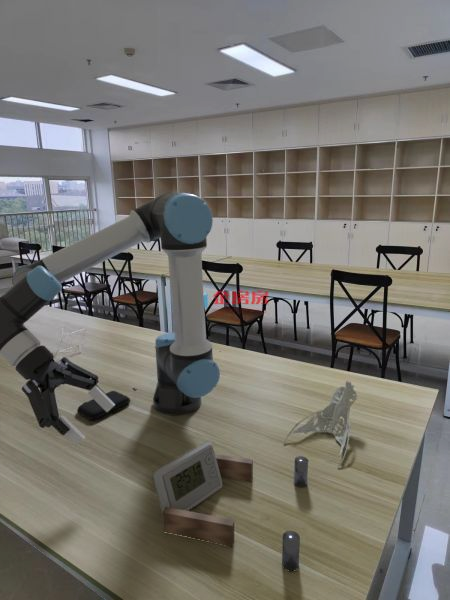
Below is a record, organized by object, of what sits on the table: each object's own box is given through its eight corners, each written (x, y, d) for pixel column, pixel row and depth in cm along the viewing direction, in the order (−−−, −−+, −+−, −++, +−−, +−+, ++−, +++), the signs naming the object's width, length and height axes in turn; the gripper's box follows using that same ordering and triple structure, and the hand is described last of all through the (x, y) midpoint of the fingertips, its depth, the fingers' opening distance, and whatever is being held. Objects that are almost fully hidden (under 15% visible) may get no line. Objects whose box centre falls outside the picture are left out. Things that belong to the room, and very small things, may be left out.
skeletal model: (281, 445, 109) (315, 363, 119) (293, 456, 116) (324, 377, 125) (339, 469, 99) (370, 376, 109) (348, 479, 106) (377, 391, 116)
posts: (281, 569, 74) (281, 542, 72) (294, 477, 97) (295, 455, 95) (298, 573, 73) (299, 545, 71) (307, 479, 96) (308, 457, 95)
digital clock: (164, 529, 83) (161, 484, 80) (146, 501, 90) (143, 459, 87) (231, 497, 91) (231, 455, 89) (210, 474, 99) (209, 435, 96)
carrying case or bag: (112, 395, 138) (73, 413, 127) (111, 386, 137) (71, 404, 126) (133, 404, 132) (93, 425, 120) (132, 396, 131) (92, 415, 120)
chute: (163, 533, 82) (162, 512, 81) (196, 468, 100) (195, 450, 99) (232, 547, 78) (232, 525, 77) (252, 478, 97) (252, 459, 96)
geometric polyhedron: (67, 344, 183) (64, 325, 180) (91, 345, 182) (88, 325, 179) (53, 355, 171) (50, 335, 169) (78, 356, 170) (75, 335, 167)
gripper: (52, 345, 104) (112, 405, 105) (-24, 392, 80) (54, 468, 81) (69, 327, 101) (130, 388, 102) (-5, 369, 78) (76, 448, 79)
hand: (97, 424), depth 92 cm, fingers open, 13 cm apart
